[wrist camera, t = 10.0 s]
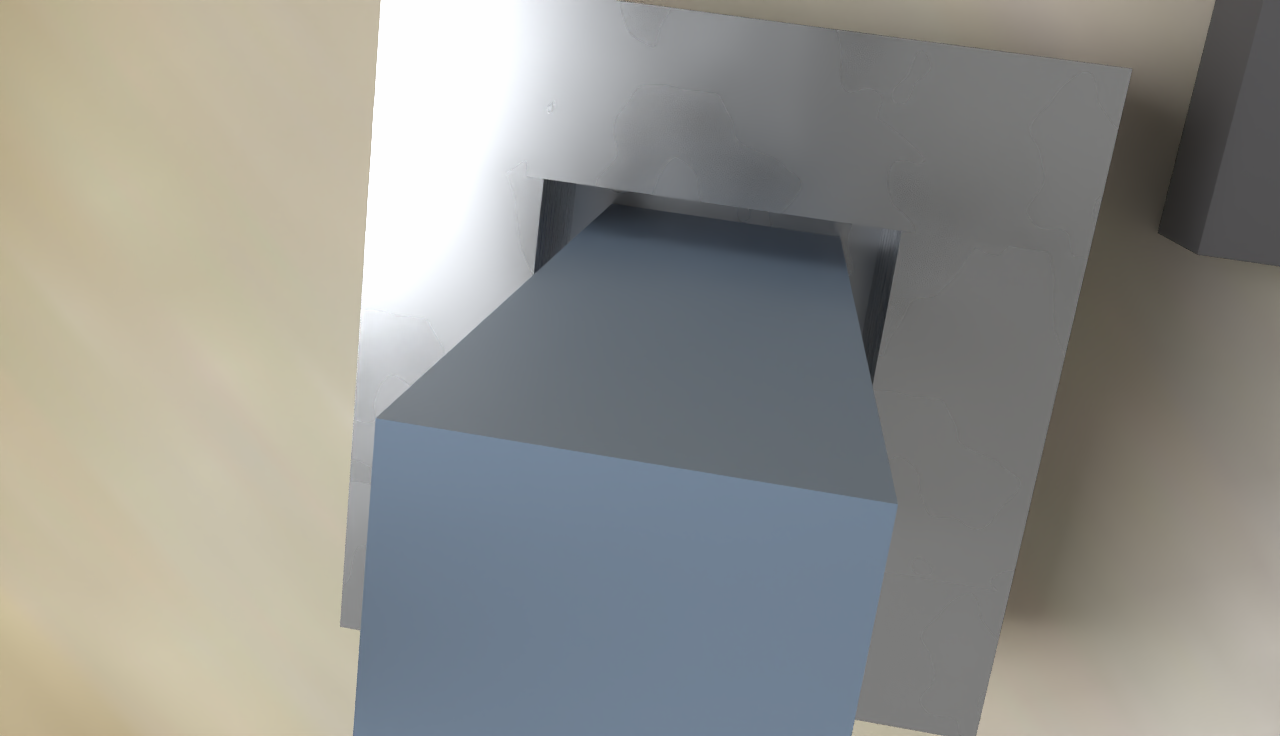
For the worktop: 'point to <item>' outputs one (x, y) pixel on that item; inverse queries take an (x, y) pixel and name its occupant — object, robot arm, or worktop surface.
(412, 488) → the plug
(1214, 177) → the dark grey flat frame
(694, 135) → the block
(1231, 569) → the worktop surface
